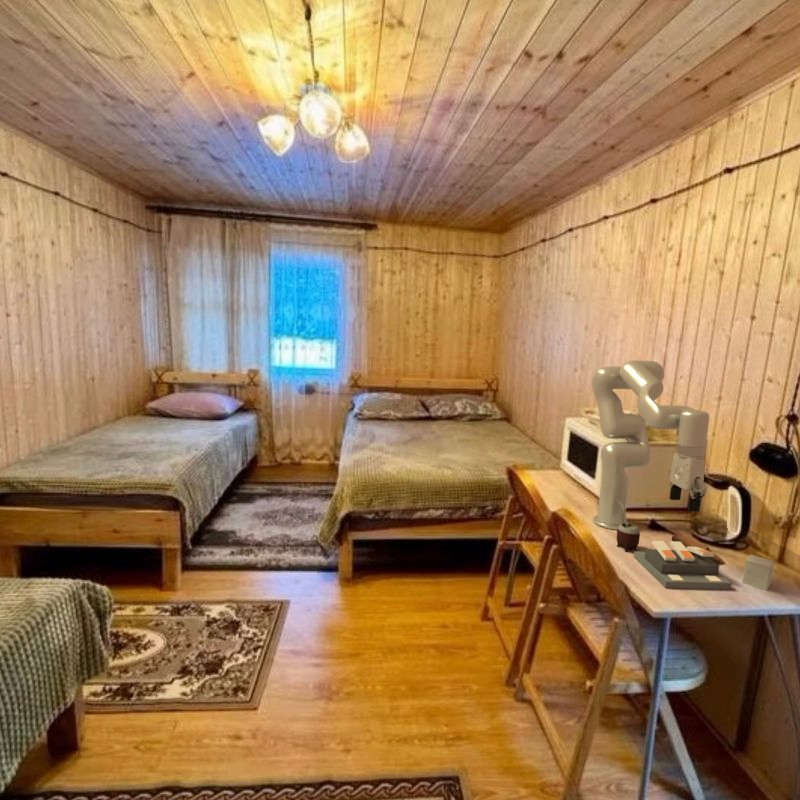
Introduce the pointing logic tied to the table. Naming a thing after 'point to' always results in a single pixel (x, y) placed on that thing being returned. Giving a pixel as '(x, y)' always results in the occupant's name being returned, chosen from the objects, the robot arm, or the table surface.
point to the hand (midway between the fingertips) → (683, 505)
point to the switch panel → (686, 578)
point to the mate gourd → (627, 534)
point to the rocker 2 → (700, 552)
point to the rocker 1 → (664, 550)
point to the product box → (758, 572)
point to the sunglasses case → (693, 542)
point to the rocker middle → (682, 551)
